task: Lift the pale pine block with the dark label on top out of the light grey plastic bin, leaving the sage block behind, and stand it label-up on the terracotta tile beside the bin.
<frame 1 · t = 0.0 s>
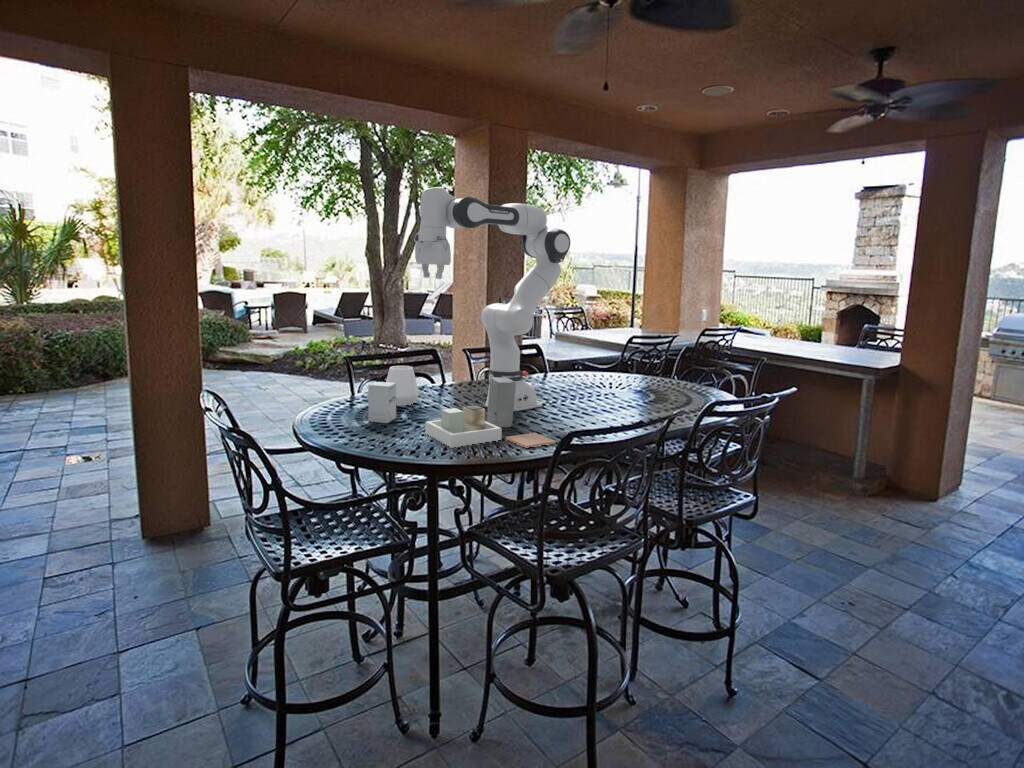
hand: (432, 278, 213), 48 cm above the table, tool pointing down, fingers open, 8 cm apart
bin: (462, 437, 194), on the table
supplement box: (382, 420, 212), on the table
cup: (401, 403, 238), on the table
skincare box: (500, 425, 211), on the table
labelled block: (473, 435, 196), resting in bin
plain block: (452, 438, 192), resting in bin
tile: (530, 442, 192), on the table
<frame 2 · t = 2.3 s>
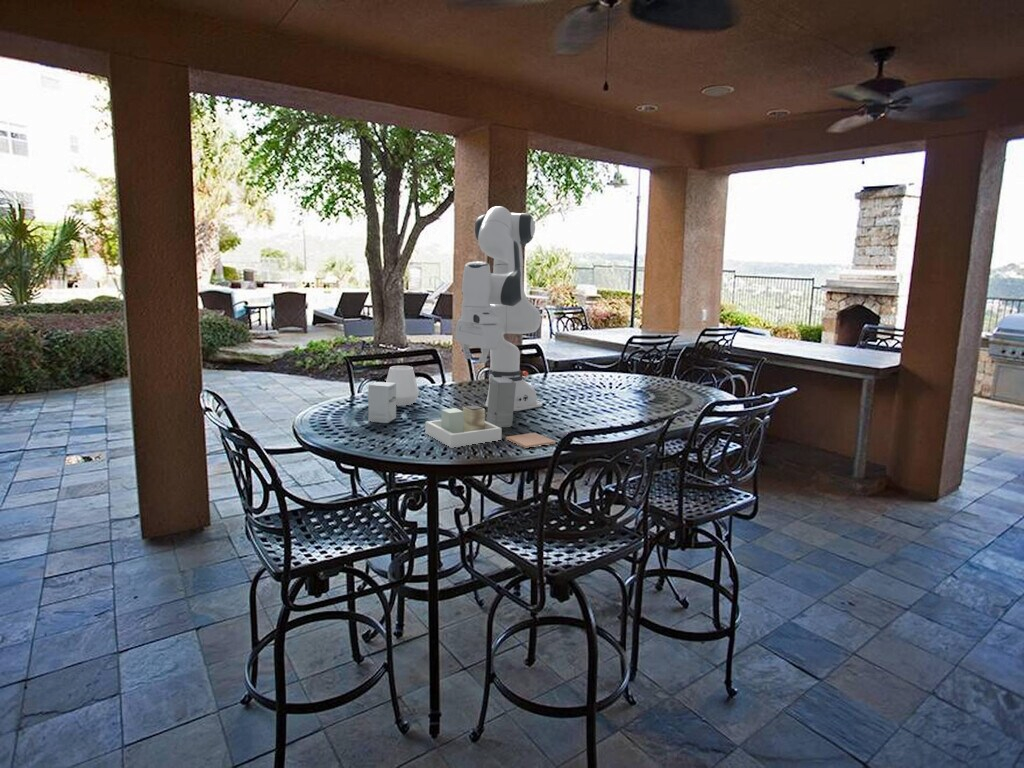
hand: (474, 360, 192), 24 cm above the table, tool pointing down, fingers open, 8 cm apart
nothing on the table moved.
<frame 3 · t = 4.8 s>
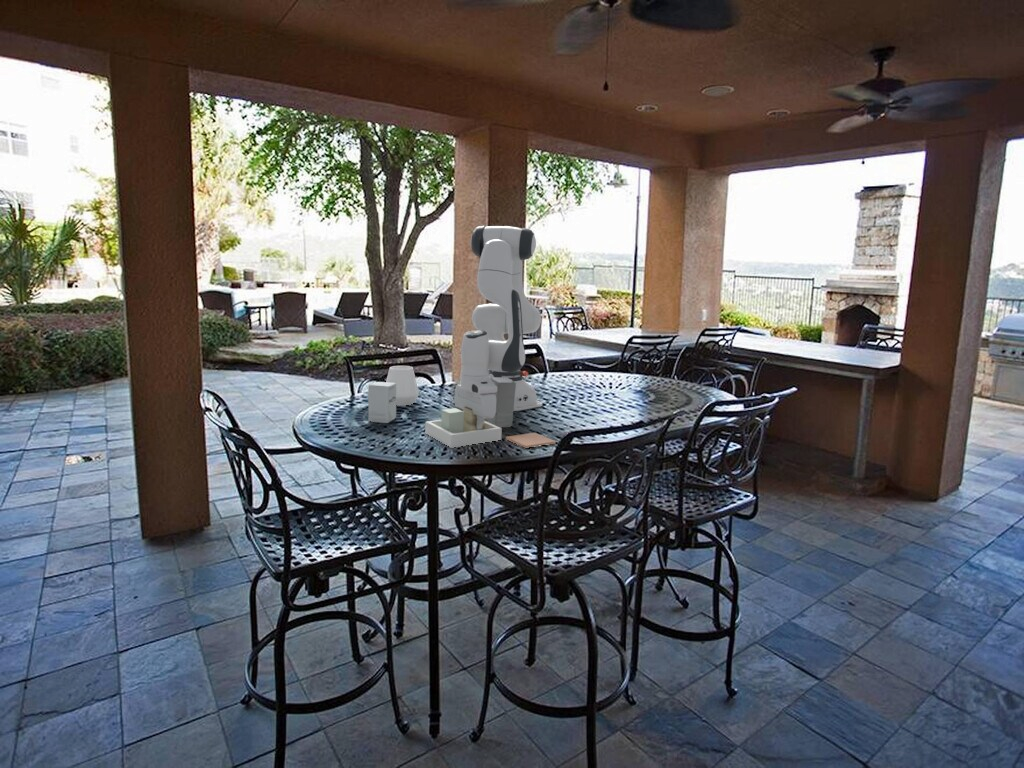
hand: (473, 426, 196), 3 cm above the table, tool pointing down, fingers closed on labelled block, 5 cm apart
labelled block: (473, 435, 196), resting in bin, touching gripper
everything else where it was.
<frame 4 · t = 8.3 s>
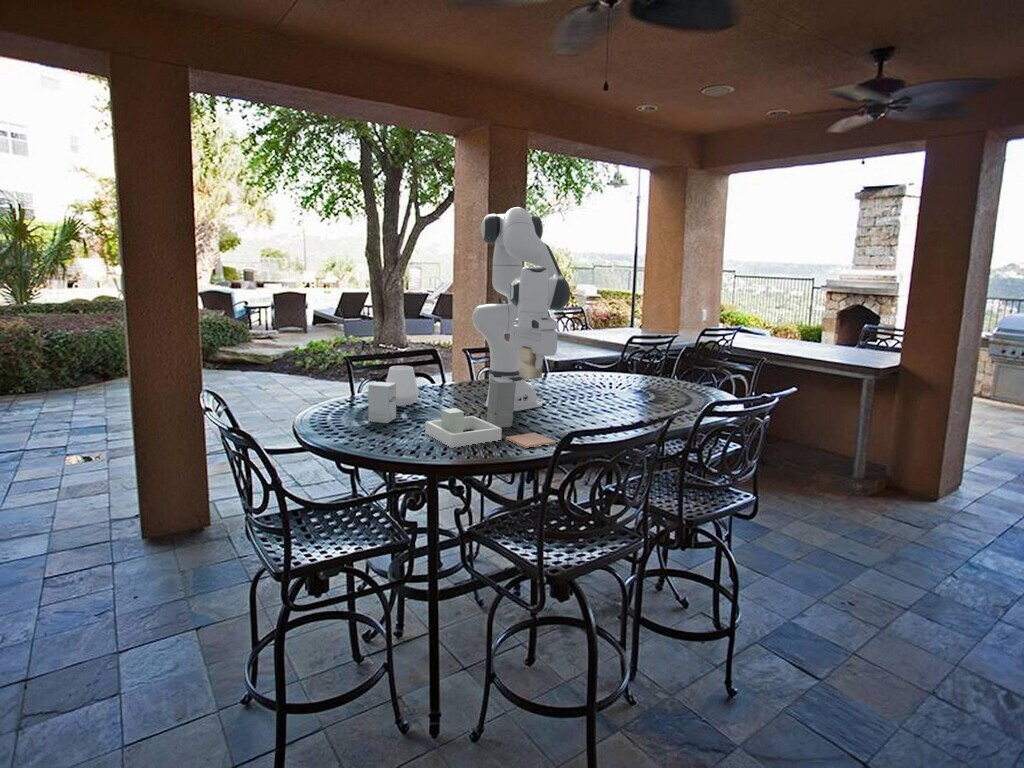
hand: (530, 367, 187), 23 cm above the table, tool pointing down, fingers closed on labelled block, 5 cm apart
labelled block: (530, 377, 188), point 20 cm above the table, touching gripper
everything else where it was.
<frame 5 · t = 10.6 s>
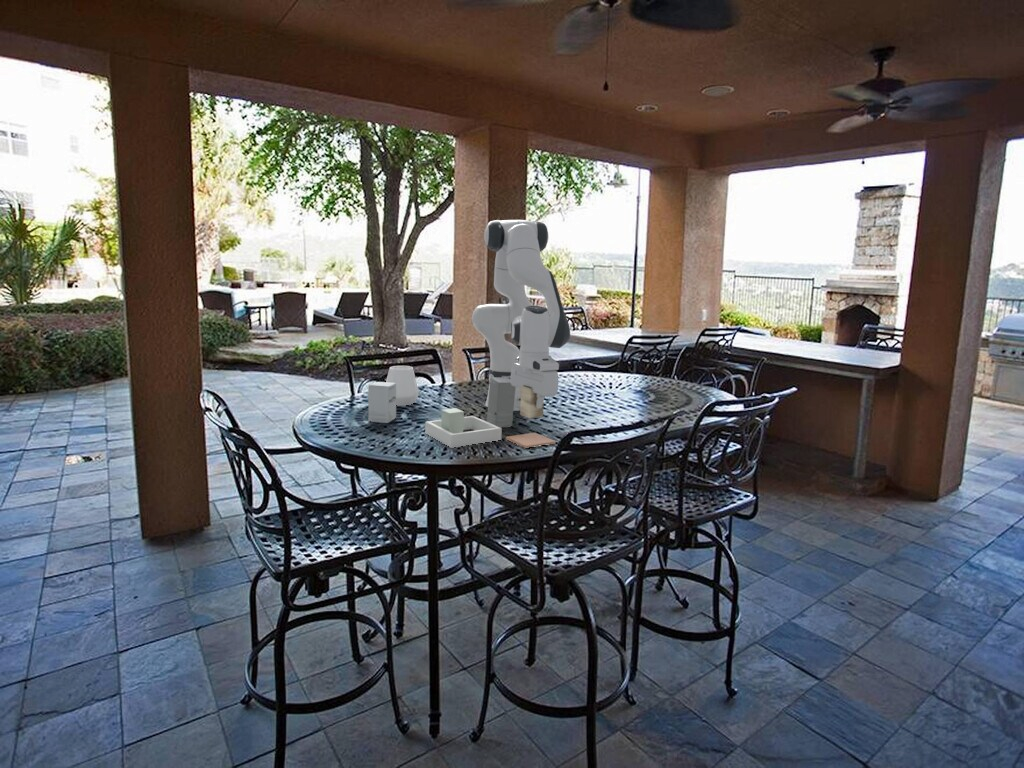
hand: (532, 405, 189), 12 cm above the table, tool pointing down, fingers closed on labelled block, 5 cm apart
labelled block: (531, 415, 190), point 8 cm above the table, touching gripper
everything else where it was.
when the fingers open (6 cm above the table, at t = 12.2 s): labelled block drops 1 cm, resting on tile.
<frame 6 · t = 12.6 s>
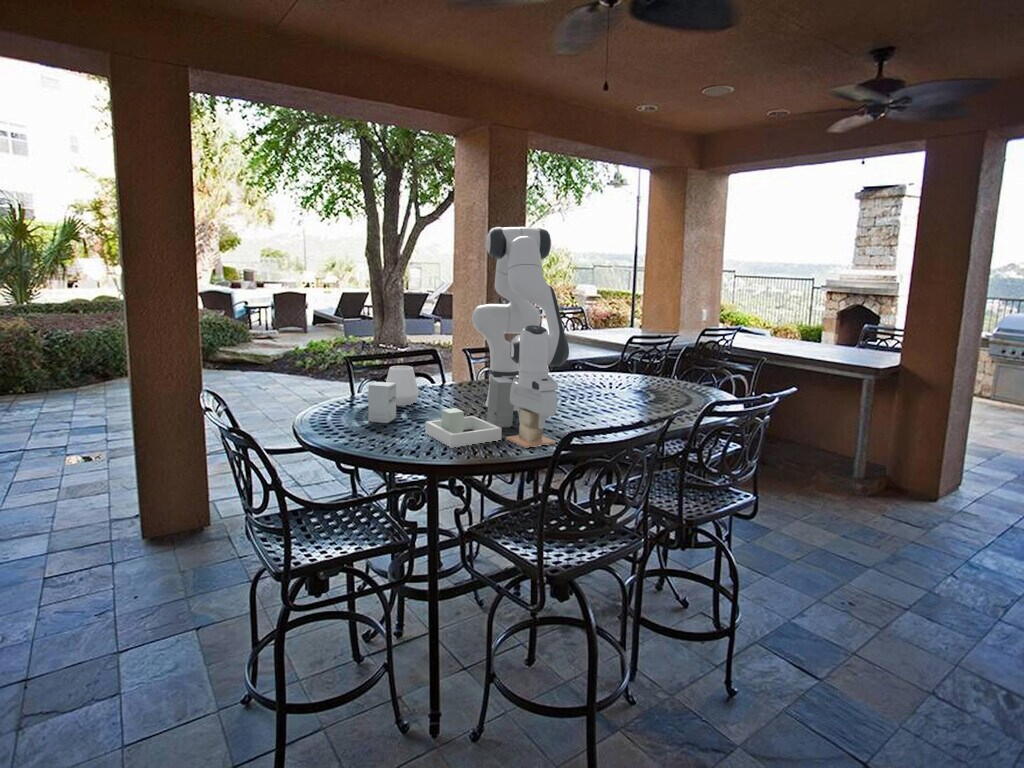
hand: (531, 424, 191), 6 cm above the table, tool pointing down, fingers open, 8 cm apart
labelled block: (530, 438, 192), point 1 cm above the table, touching tile
everything else where it was.
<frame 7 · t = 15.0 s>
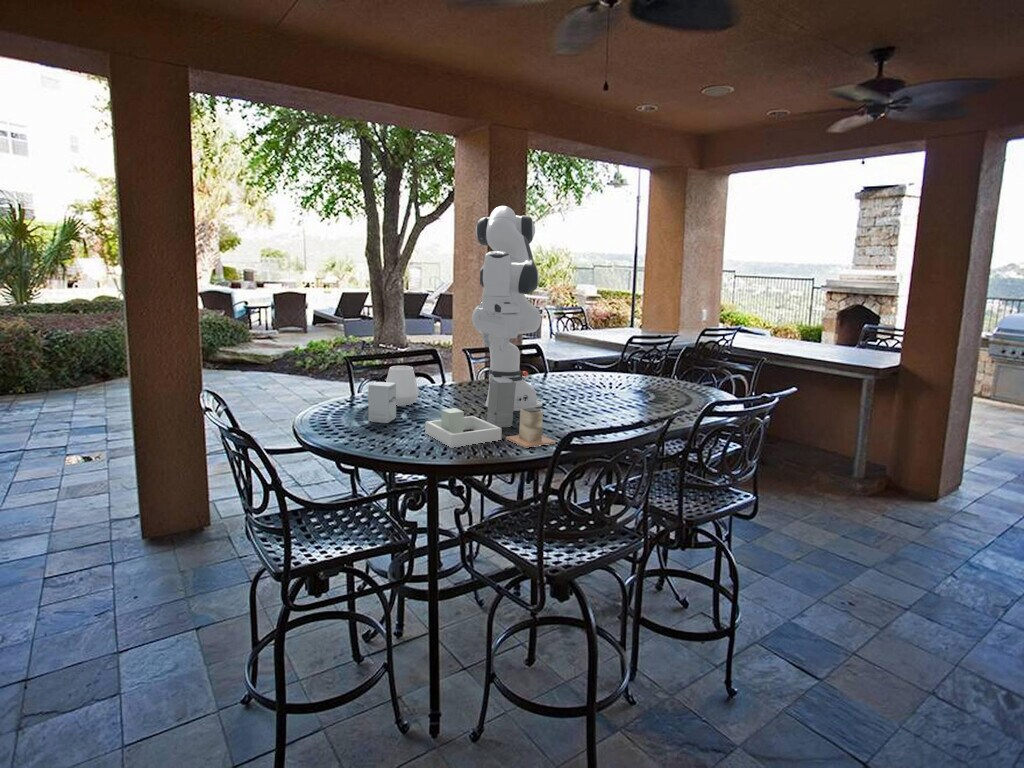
hand: (494, 348, 196), 27 cm above the table, tool pointing down, fingers open, 8 cm apart
nothing on the table moved.
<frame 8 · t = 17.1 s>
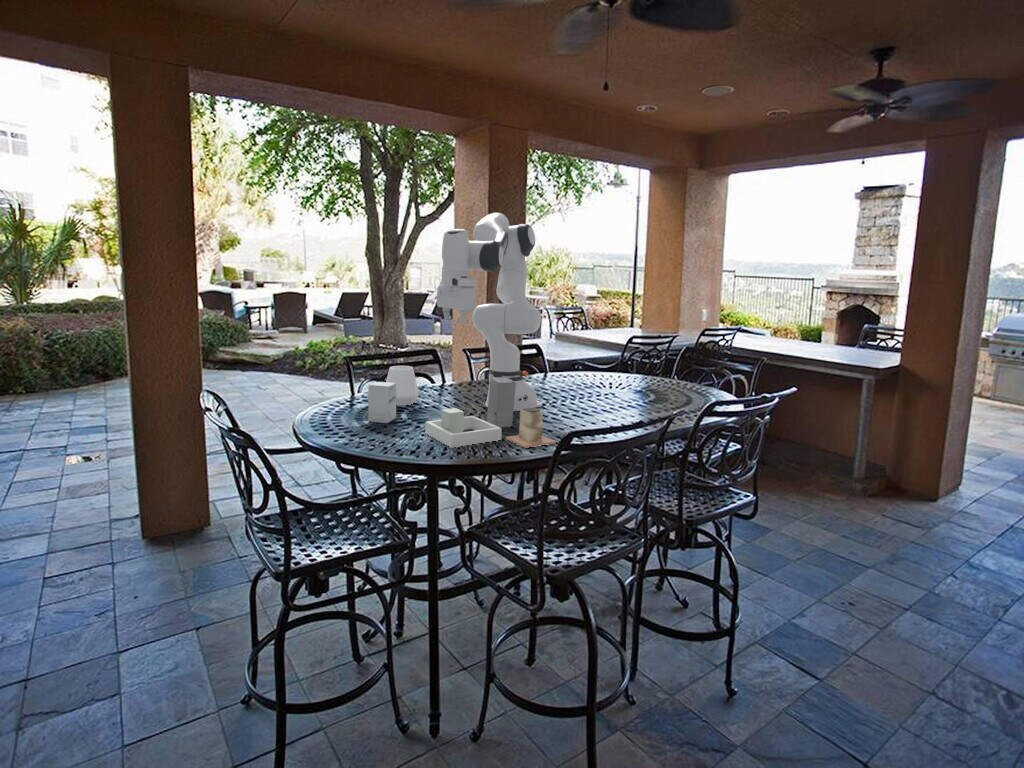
hand: (454, 322, 204), 34 cm above the table, tool pointing down, fingers open, 8 cm apart
nothing on the table moved.
at the end: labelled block inside the target area on the tile (0.1 cm from its centre), point 1.0 cm above the tile's base; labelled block tilted 0°; the gripper is holding nothing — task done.
